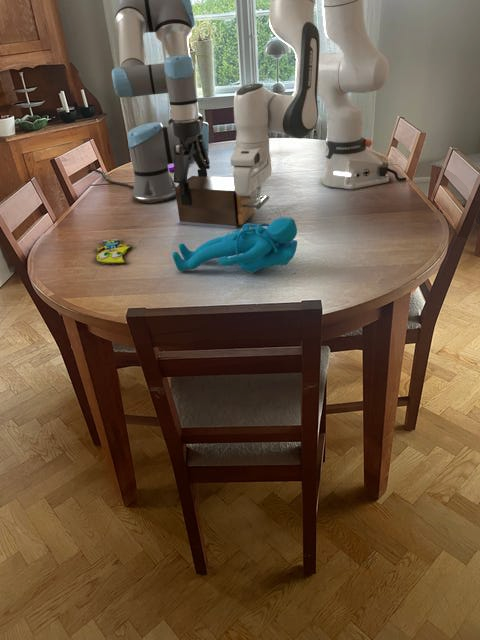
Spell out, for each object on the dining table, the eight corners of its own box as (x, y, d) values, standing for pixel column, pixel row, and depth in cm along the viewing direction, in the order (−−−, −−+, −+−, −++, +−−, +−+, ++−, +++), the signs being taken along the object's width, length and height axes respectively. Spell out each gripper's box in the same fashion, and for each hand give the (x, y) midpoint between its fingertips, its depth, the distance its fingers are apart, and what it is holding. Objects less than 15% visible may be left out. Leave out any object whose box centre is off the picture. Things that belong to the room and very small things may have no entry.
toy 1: (135, 237, 135) (125, 260, 122) (135, 240, 135) (125, 263, 123) (99, 239, 135) (85, 263, 122) (100, 242, 135) (86, 266, 123)
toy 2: (183, 229, 122) (297, 202, 112) (198, 266, 128) (308, 242, 117) (161, 259, 109) (288, 230, 99) (178, 298, 114) (301, 275, 104)
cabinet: (250, 214, 146) (247, 178, 140) (236, 228, 137) (233, 190, 131) (196, 210, 152) (192, 175, 146) (180, 223, 143) (174, 187, 137)
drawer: (271, 213, 142) (269, 183, 137) (259, 226, 135) (257, 194, 130) (204, 208, 150) (200, 180, 145) (189, 220, 142) (185, 191, 137)
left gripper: (192, 111, 142) (201, 184, 153) (152, 129, 123) (165, 211, 135) (215, 111, 139) (223, 185, 151) (177, 129, 121) (189, 212, 133)
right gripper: (255, 142, 138) (257, 189, 145) (227, 160, 122) (231, 213, 129) (276, 142, 136) (277, 190, 143) (250, 161, 120) (253, 214, 127)
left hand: (195, 197), depth 143 cm, fingers closed on cabinet, 11 cm apart
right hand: (255, 201), depth 136 cm, fingers closed
